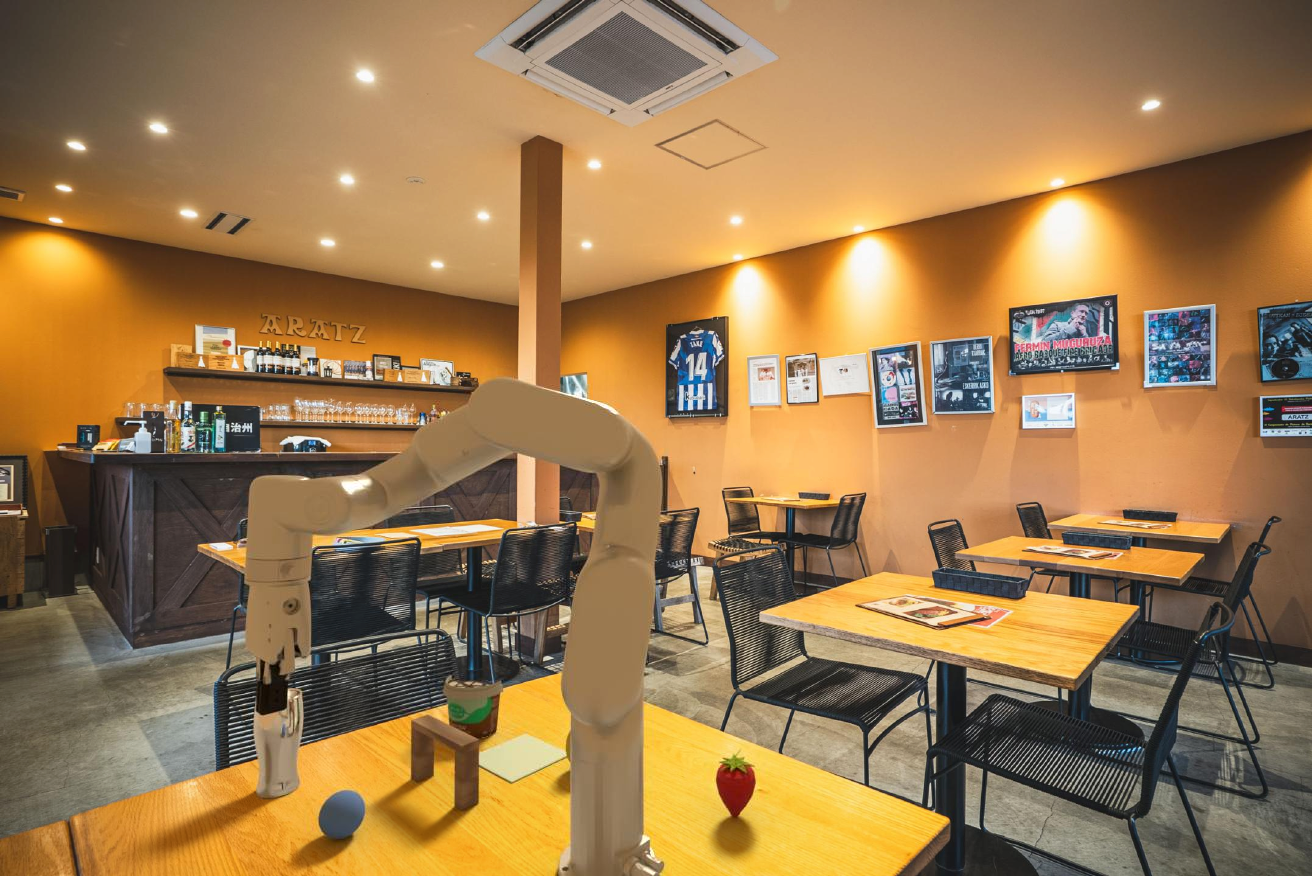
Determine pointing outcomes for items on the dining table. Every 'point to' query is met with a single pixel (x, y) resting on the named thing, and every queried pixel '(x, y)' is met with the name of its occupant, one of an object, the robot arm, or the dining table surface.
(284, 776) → the metal pint tumbler
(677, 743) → the dining table surface
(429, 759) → the bridge
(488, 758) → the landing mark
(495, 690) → the food container
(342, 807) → the ball
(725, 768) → the strawberry
